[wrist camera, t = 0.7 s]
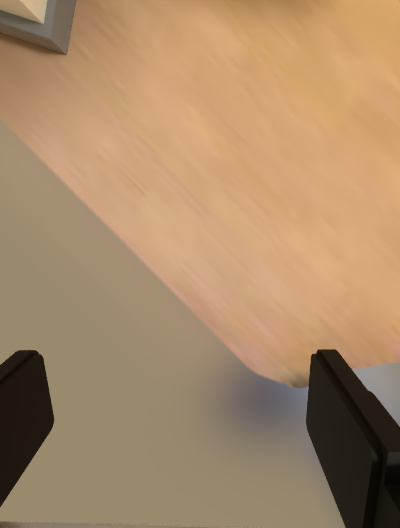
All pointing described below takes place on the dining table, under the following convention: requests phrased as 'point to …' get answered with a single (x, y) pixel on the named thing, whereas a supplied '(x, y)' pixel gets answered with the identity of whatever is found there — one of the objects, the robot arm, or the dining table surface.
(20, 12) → the tower top
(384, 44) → the dining table surface
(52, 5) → the tower bottom
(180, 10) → the dining table surface
